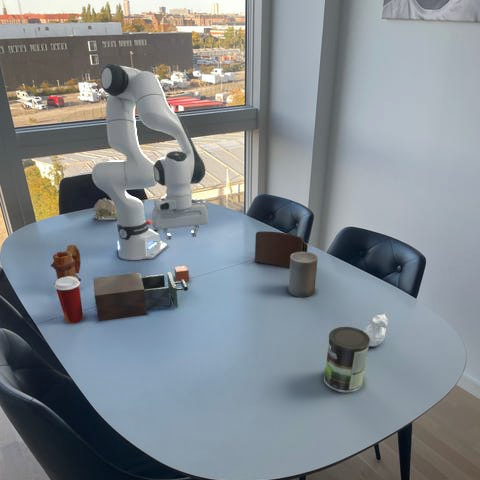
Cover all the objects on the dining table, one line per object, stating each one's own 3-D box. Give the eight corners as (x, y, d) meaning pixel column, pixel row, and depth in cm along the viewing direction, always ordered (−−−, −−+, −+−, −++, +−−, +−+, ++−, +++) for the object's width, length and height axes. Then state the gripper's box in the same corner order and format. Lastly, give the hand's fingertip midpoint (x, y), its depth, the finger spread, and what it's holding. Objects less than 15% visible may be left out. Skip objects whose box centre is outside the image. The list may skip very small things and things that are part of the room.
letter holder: (300, 269, 188) (303, 236, 180) (254, 262, 194) (254, 229, 187) (306, 260, 196) (309, 228, 188) (262, 253, 202) (263, 222, 195)
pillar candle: (317, 288, 173) (321, 250, 166) (309, 299, 166) (313, 260, 158) (293, 283, 177) (295, 246, 169) (284, 294, 169) (286, 255, 162)
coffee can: (329, 394, 121) (334, 349, 114) (319, 370, 130) (324, 327, 123) (367, 392, 122) (375, 347, 114) (356, 368, 131) (362, 325, 123)
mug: (73, 297, 167) (65, 258, 159) (52, 294, 168) (43, 256, 161) (92, 279, 179) (85, 242, 171) (72, 277, 181) (65, 241, 173)
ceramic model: (90, 219, 240) (86, 200, 235) (99, 213, 249) (96, 194, 244) (116, 221, 238) (113, 202, 233) (124, 214, 247) (121, 195, 242)
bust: (359, 356, 139) (384, 341, 130) (344, 335, 141) (368, 319, 132) (382, 342, 146) (407, 326, 137) (368, 322, 148) (392, 305, 139)
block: (186, 276, 182) (186, 265, 180) (189, 281, 178) (188, 270, 176) (175, 277, 181) (174, 266, 178) (177, 282, 177) (176, 271, 175)
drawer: (184, 290, 170) (182, 270, 166) (190, 305, 160) (189, 285, 156) (131, 296, 165) (128, 276, 161) (134, 313, 155) (132, 292, 151)
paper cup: (91, 315, 155) (84, 277, 148) (77, 326, 149) (69, 287, 142) (71, 311, 158) (63, 274, 150) (56, 322, 151) (47, 284, 144)
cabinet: (142, 296, 167) (139, 272, 162) (147, 315, 156) (144, 289, 151) (97, 302, 163) (93, 277, 158) (99, 321, 152) (94, 295, 147)
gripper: (205, 195, 169) (206, 231, 177) (149, 200, 164) (152, 237, 171) (210, 200, 164) (210, 237, 172) (152, 206, 159) (155, 244, 166)
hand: (181, 237), depth 171 cm, fingers open, 8 cm apart
